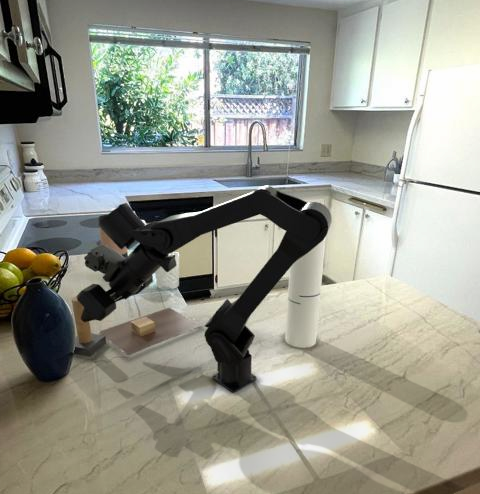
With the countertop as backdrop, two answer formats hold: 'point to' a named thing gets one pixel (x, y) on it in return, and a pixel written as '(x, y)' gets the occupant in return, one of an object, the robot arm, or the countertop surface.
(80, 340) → the stamp
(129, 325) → the cutting board
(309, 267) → the cylindrical container
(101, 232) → the travel mug
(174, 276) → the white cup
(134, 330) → the tan wooden block
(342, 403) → the countertop surface
